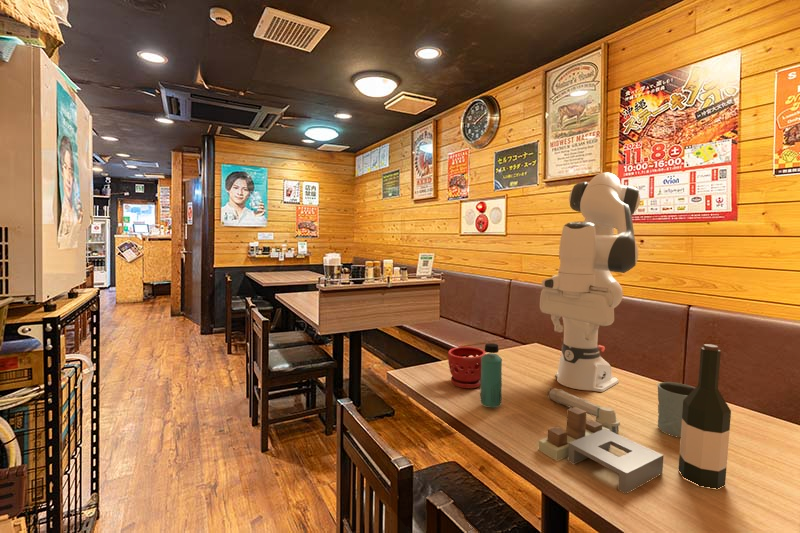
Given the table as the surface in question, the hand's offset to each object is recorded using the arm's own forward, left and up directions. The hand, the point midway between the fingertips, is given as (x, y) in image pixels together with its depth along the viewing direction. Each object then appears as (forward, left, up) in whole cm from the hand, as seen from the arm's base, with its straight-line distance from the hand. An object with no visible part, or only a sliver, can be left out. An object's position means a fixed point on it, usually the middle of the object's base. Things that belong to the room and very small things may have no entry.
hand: (573, 335), depth 107 cm
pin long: (+4, +5, -27) cm, 28 cm away
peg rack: (+4, +5, -27) cm, 28 cm away
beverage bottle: (+8, -22, -27) cm, 36 cm away
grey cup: (-27, +14, -27) cm, 41 cm away
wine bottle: (-8, +28, -27) cm, 40 cm away
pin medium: (+11, +5, -27) cm, 29 cm away
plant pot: (+2, -41, -27) cm, 49 cm away
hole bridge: (+5, +16, -27) cm, 31 cm away
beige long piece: (-13, -6, -27) cm, 31 cm away
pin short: (-3, +5, -27) cm, 28 cm away
